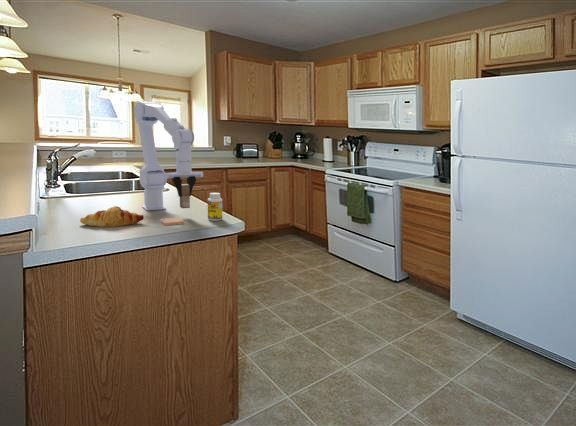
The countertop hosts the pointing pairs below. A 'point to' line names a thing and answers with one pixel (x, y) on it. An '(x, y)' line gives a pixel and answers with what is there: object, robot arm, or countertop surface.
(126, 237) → the countertop surface
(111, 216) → the croissant
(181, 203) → the wooden rectangular block
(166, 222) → the tile
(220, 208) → the supplement bottle
